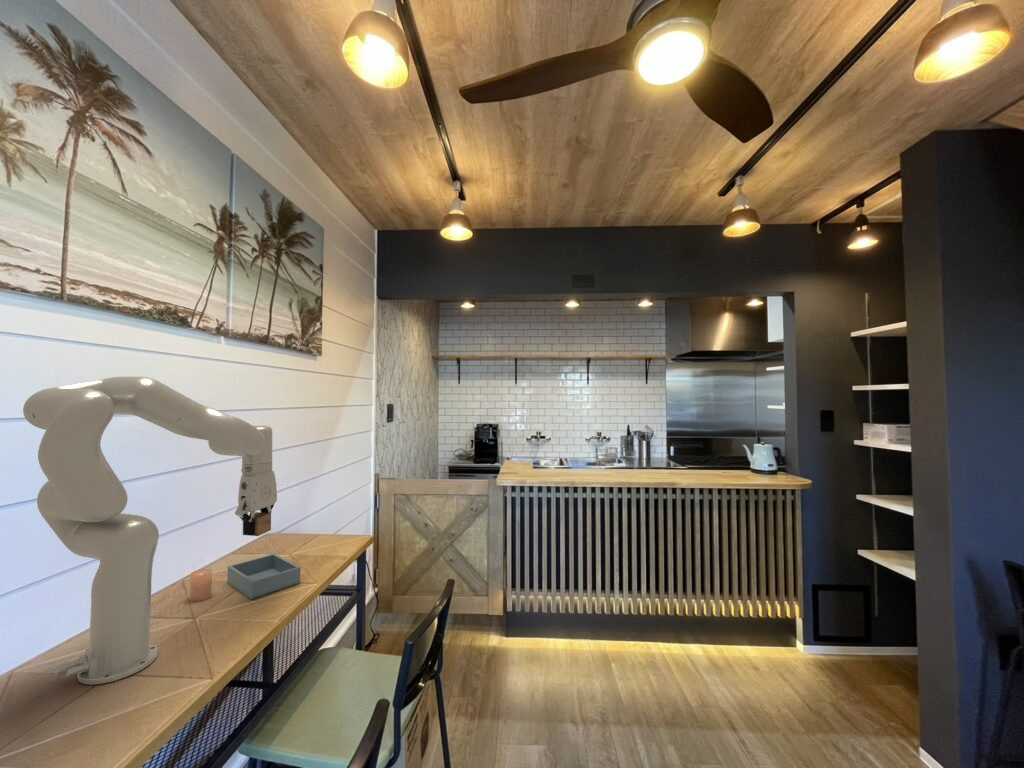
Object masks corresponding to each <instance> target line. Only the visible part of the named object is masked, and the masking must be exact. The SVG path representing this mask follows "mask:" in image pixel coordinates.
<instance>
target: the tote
mask: <svg viewBox="0 0 1024 768" xmlns="http://www.w3.org/2000/svg"><path fill="white" fill-rule="evenodd" d="M301 569H302V568H301V566H299V565H297V564H295V563H294V562H291V561H290V560H287V559H286V558H284V557H282V556H280V555H278V554H276V553H271V554H267V555H264V556H261V557H260V556H259V557H256V558H254V559H250V560H247V561H242V562H238V563H235V564H231V565H228V566H227V579H226V580H227V584H228V585H229V586H231V587H232V588H234V590H237V591H238V593H241V594H242V595H244V596H245V597H246V598H247V599H249V600H250V599H251V600H250V601H253V599H254V600H257V599H259V598H262V597H265V596H268V595H271V594H275V593H277V592H279V591H282V590H283V591H284V590H285V589H289V588H292V587H295V586H298V585H300V584H301Z"/></svg>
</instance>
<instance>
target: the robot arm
mask: <svg viewBox="0 0 1024 768" xmlns="http://www.w3.org/2000/svg"><path fill="white" fill-rule="evenodd" d="M22 412H23V413H22V414H23V417H24V418H25V420H26V421H27V422H28V423H29V424H30V425H32V426H34V427H36V428H38V429H41V430H45V431H44V434H43V436H42V437H41V441H40V443H39V447H38V450H37V461H38V464H39V466H40V468H41V471H42V473H43V474H44V475H45V477H46V479H47V481H46V482H45V483H44V484H43V485H42V486H41V488H40V489H39V491H38V494H37V498H36V504H37V509H38V511H39V513H40V515H41V517H42V518H43V519H44V521H45V522H46V523H47V525H48V526H49V527H50V529H51V530H52V531H53V533H54V534H55V535H56V536H57V538H58V539H59V540H60V541H61V542H62V544H63V545H64V546H65V547H66V548H67V549H68V551H70V552H71V553H72V554H75V555H77V556H78V557H79V556H80V557H83V558H87V559H88V558H89V559H94V560H98V561H99V564H98V565H99V566H98V568H97V570H96V572H95V575H94V577H93V579H92V583H91V590H90V591H91V592H90V619H89V621H90V622H89V641H88V642H89V644H88V647H89V648H87V649H84V654H83V655H81V656H78V657H77V659H75V660H71V661H67V662H64V663H61V664H58V665H55V670H54V671H55V673H54V675H55V677H58V676H62V675H64V674H66V675H65V677H66V678H68V677H71V676H75V675H77V681H78V682H79V683H81V684H85V685H92V686H93V685H102V684H107V683H111V682H116V681H118V680H121V679H124V678H127V677H129V676H132V675H134V674H136V673H138V672H140V671H142V670H143V669H145V668H147V667H149V666H150V665H151V664H152V663H153V662H155V660H156V659H157V657H158V655H159V648H158V646H157V645H156V644H153V643H150V641H151V640H150V639H151V638H150V635H151V608H152V607H151V606H152V578H153V577H152V576H153V566H154V565H153V564H154V558H155V554H156V550H157V547H158V543H159V536H160V535H159V529H158V526H157V525H156V523H154V522H153V521H152V520H151V519H149V518H147V517H145V516H142V515H138V514H129V513H124V512H123V511H124V510H125V508H126V506H127V503H128V493H127V491H126V489H125V487H124V485H123V483H122V482H121V481H120V479H119V477H118V476H117V474H116V473H115V471H114V470H113V468H112V467H111V465H110V464H109V462H108V460H107V459H106V456H105V454H104V453H103V450H102V447H101V441H102V437H103V434H104V433H105V430H106V429H107V427H108V425H109V424H110V422H111V421H112V419H113V417H114V415H117V414H118V415H132V416H135V417H139V418H141V419H142V420H145V421H147V422H149V423H151V424H153V425H156V426H158V427H161V428H163V429H165V430H166V431H169V432H171V433H173V434H176V435H178V436H182V437H186V438H191V439H198V440H204V441H208V443H207V444H208V446H209V447H208V448H209V449H210V450H211V451H212V452H213V453H215V454H218V455H221V456H233V457H241V460H242V461H241V470H240V472H241V477H240V480H239V481H240V482H239V487H238V497H237V498H238V499H237V503H238V504H237V505H238V506H237V508H236V510H235V512H234V514H235V516H236V517H239V519H241V522H243V521H244V535H243V536H250V535H255V521H253V519H254V514H255V512H258V511H260V512H261V513H271V514H272V512H273V511H272V510H273V508H274V505H275V504H276V503H277V501H278V493H277V490H278V489H277V480H276V475H275V472H274V470H273V429H272V427H271V426H268V425H252V424H251V423H249V422H247V421H245V420H244V419H241V418H239V417H237V416H234V415H231V414H228V413H225V412H222V411H219V410H217V409H215V408H212V407H209V406H207V405H205V404H204V405H203V404H201V403H199V402H197V401H195V400H194V399H191V398H190V397H188V396H186V395H184V394H182V393H180V392H179V391H177V390H175V389H173V388H172V387H170V386H167V385H166V384H164V383H162V382H160V381H159V380H158V379H154V378H150V377H147V376H114V377H108V378H107V377H106V378H102V379H97V380H90V381H85V382H79V383H73V384H67V385H60V386H54V387H49V388H45V389H44V388H43V389H42V390H39V391H37V392H35V393H33V394H32V395H30V396H29V397H28V398H27V400H25V402H24V404H23V408H22ZM122 512H123V513H122ZM249 515H250V516H249Z"/></svg>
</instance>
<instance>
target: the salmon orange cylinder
mask: <svg viewBox="0 0 1024 768" xmlns="http://www.w3.org/2000/svg"><path fill="white" fill-rule="evenodd" d="M212 578H213V570H212V569H210V568H202V569H198V570H195V571H193V572H191V573H190V574H189V601H190V603H191V602H193V603H196V602H197V603H198V602H202V601H206V600H207V599H209V598H211V597H212V595H213V593H212V591H213V590H212V589H213V588H212V587H213V585H212V583H213V579H212Z"/></svg>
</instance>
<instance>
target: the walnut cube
mask: <svg viewBox="0 0 1024 768" xmlns="http://www.w3.org/2000/svg"><path fill="white" fill-rule="evenodd" d="M248 515H249V516H250V514H248ZM253 521H255V535H249V536H252V537H259V536H262V535H264V534H266V533H268V532H270V531H271V530H272V513H261V512H259V511H255V514H254V519H253ZM242 536H245V535H244V521H242Z"/></svg>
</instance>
